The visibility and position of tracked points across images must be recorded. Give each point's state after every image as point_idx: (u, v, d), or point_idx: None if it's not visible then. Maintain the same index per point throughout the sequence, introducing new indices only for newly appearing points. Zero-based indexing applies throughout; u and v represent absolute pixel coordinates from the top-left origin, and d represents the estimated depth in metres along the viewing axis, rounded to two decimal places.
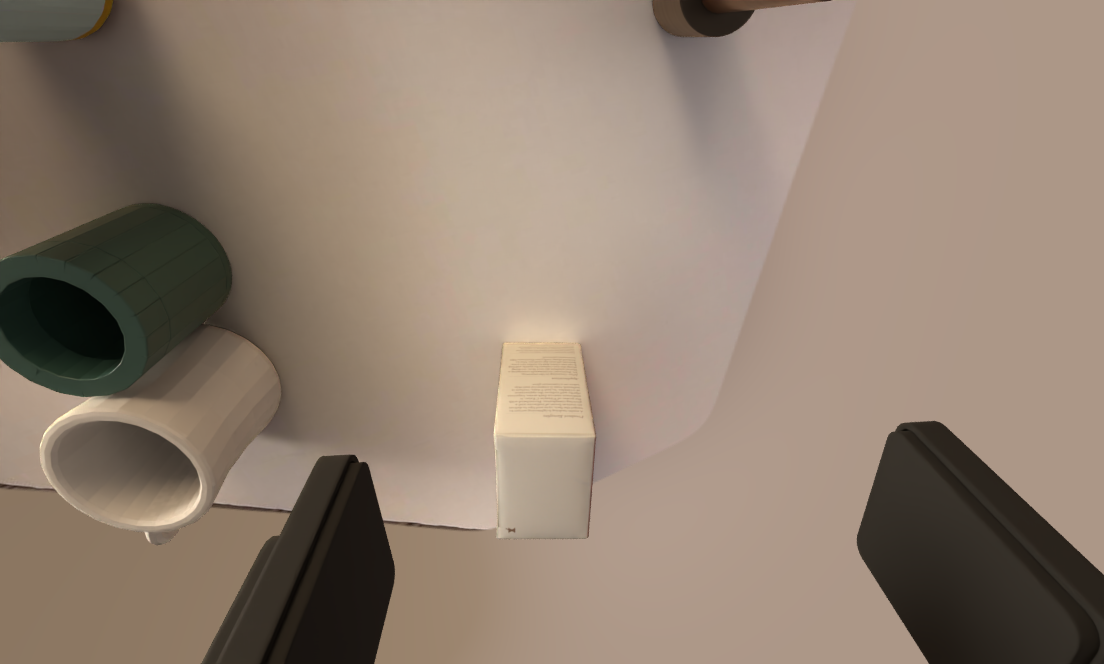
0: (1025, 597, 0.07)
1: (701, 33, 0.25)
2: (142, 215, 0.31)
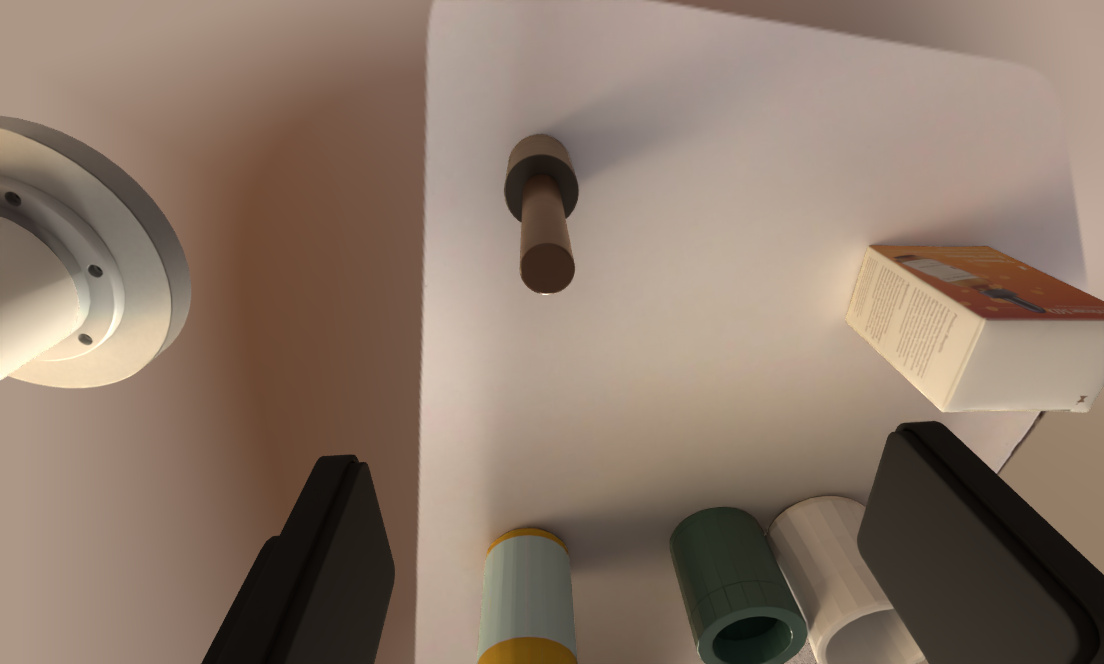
0: (1025, 597, 0.07)
1: (575, 204, 0.27)
2: (678, 554, 0.45)
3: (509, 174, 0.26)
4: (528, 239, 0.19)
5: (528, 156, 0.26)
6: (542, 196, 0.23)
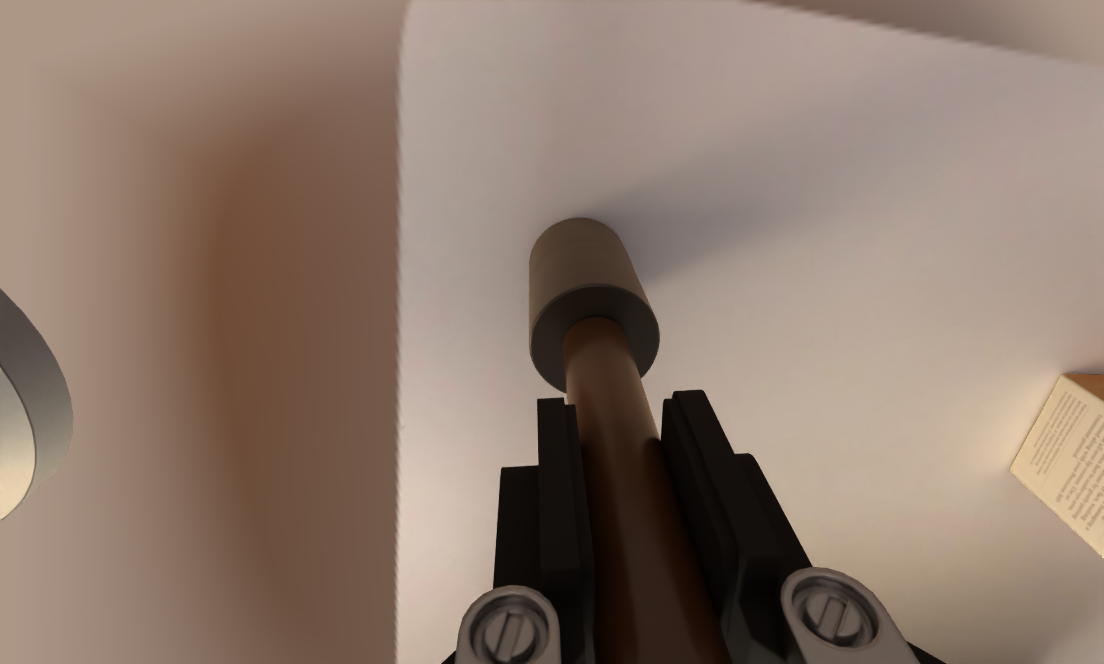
0: (707, 531, 0.08)
1: (652, 362, 0.16)
2: None
3: (539, 316, 0.15)
4: (622, 645, 0.07)
5: (574, 287, 0.14)
6: (617, 409, 0.11)
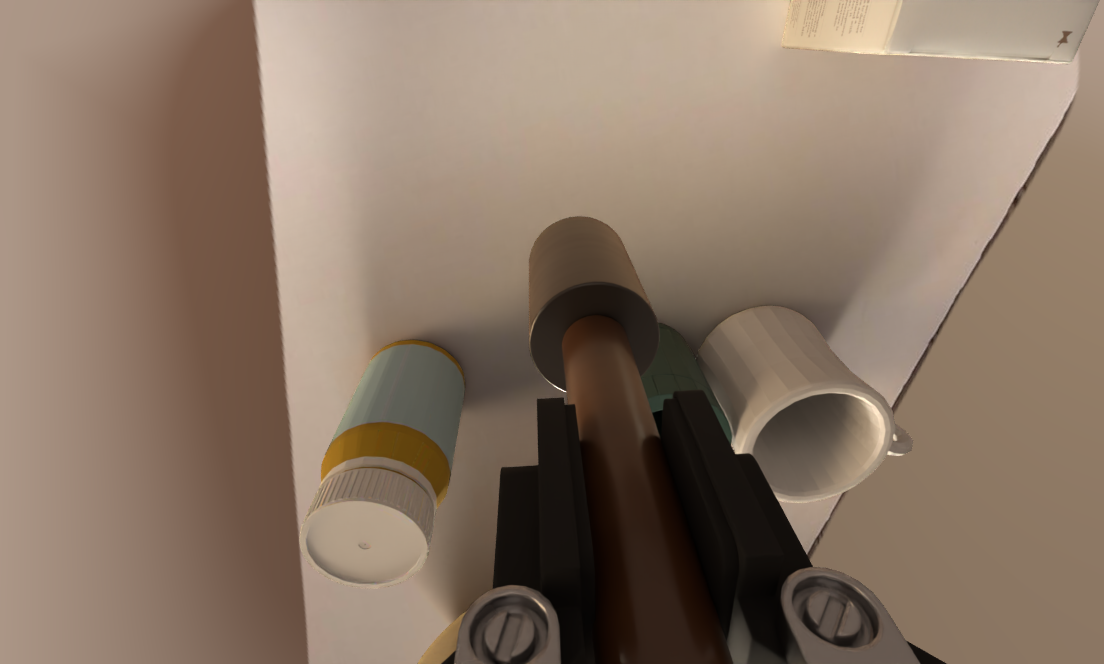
0: (707, 531, 0.08)
1: (652, 360, 0.16)
2: None
3: (539, 314, 0.15)
4: (622, 643, 0.07)
5: (574, 285, 0.14)
6: (616, 407, 0.11)
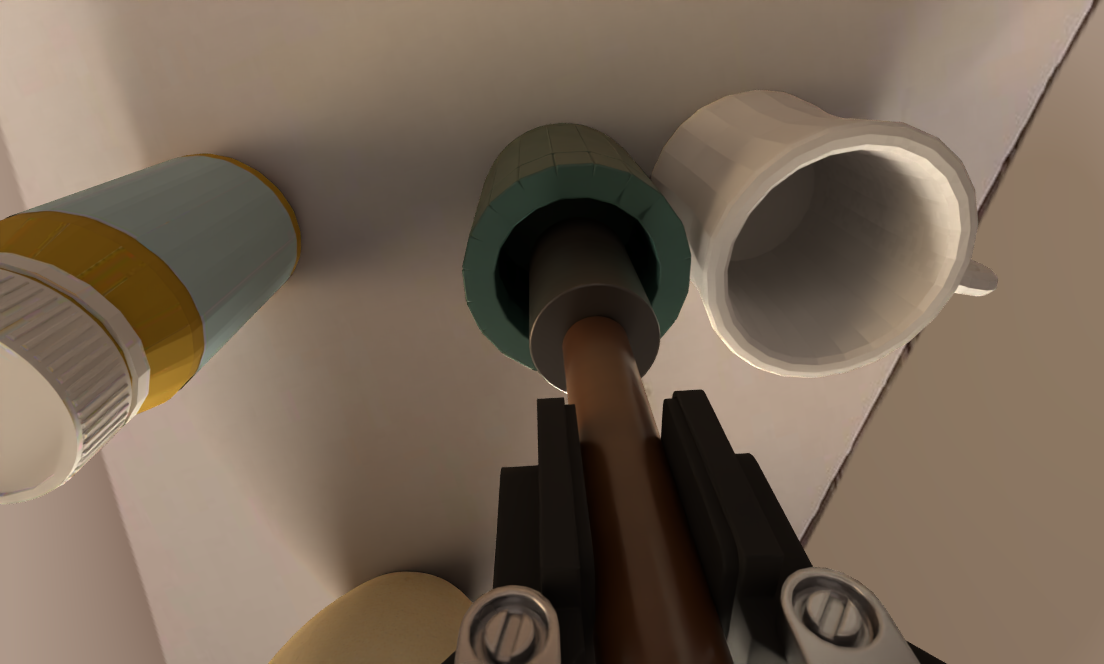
0: (707, 531, 0.08)
1: (652, 361, 0.16)
2: None
3: (539, 315, 0.15)
4: (623, 646, 0.07)
5: (575, 286, 0.14)
6: (617, 408, 0.11)
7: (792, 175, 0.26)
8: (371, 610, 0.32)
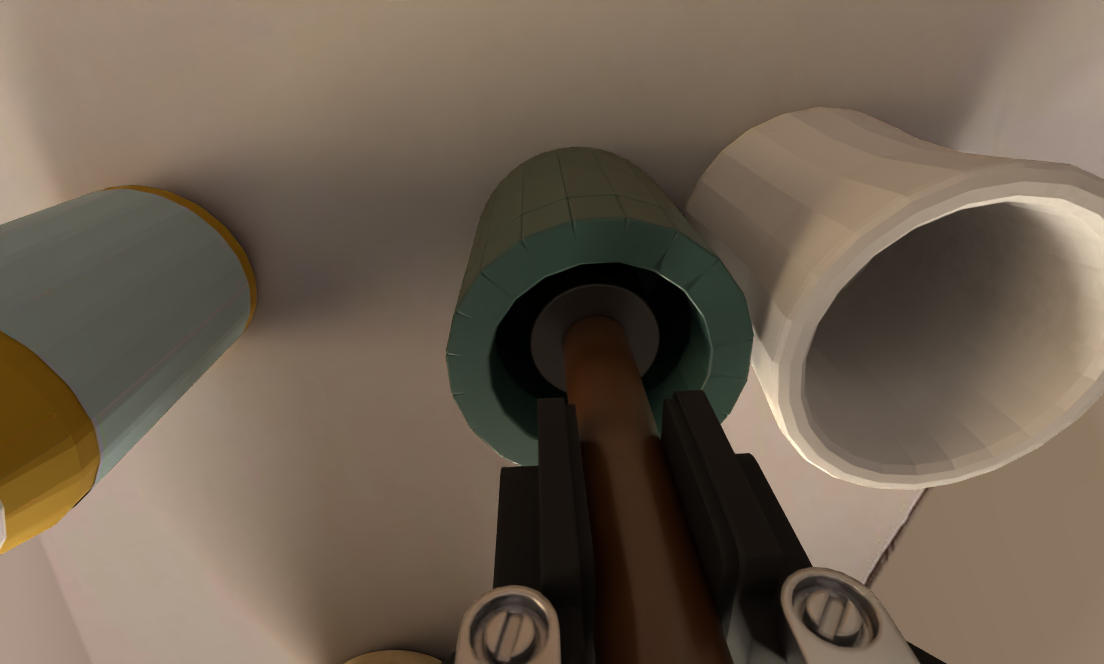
0: (707, 531, 0.08)
1: (652, 361, 0.16)
2: None
3: (539, 315, 0.15)
4: (623, 645, 0.07)
5: (574, 286, 0.14)
6: (617, 408, 0.11)
7: None
8: None
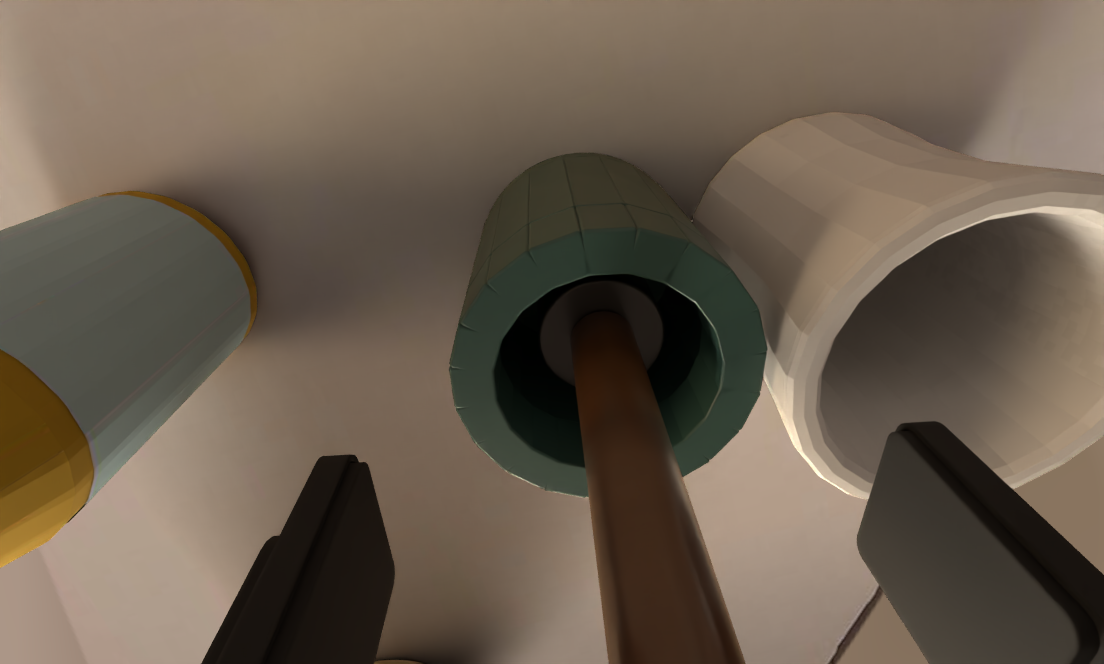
0: (1025, 597, 0.07)
1: (657, 355, 0.16)
2: None
3: (548, 310, 0.15)
4: (631, 609, 0.08)
5: (582, 282, 0.15)
6: (624, 397, 0.12)
7: None
8: None
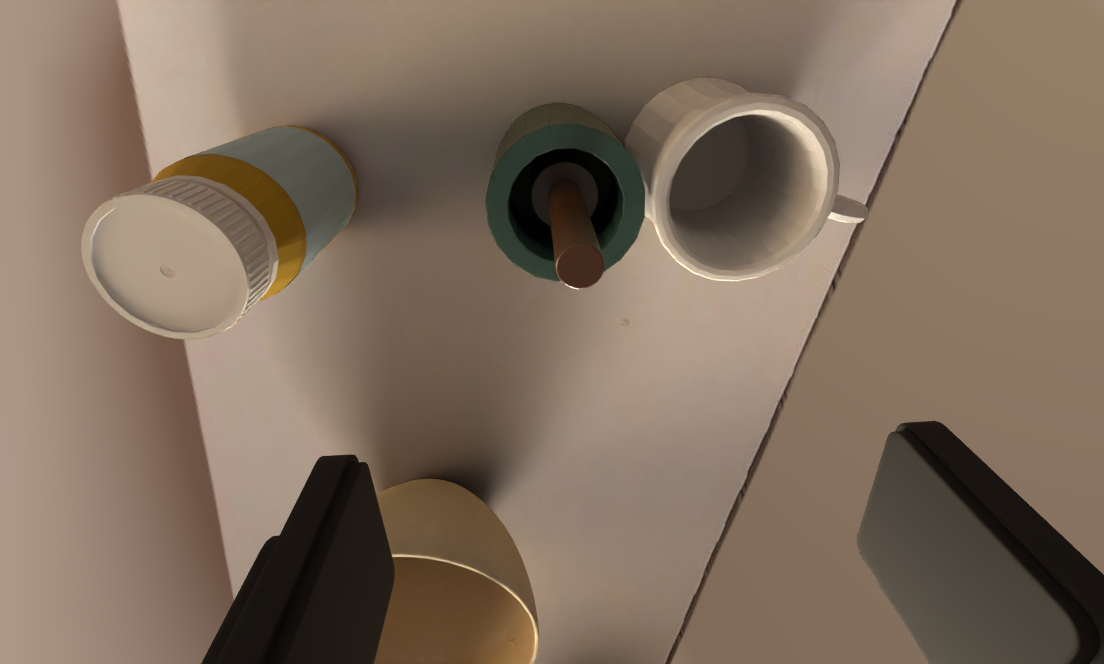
0: (1025, 597, 0.07)
1: (595, 207, 0.29)
2: None
3: (536, 179, 0.29)
4: (562, 239, 0.21)
5: (554, 163, 0.28)
6: (569, 200, 0.25)
7: (731, 143, 0.34)
8: (405, 494, 0.40)
